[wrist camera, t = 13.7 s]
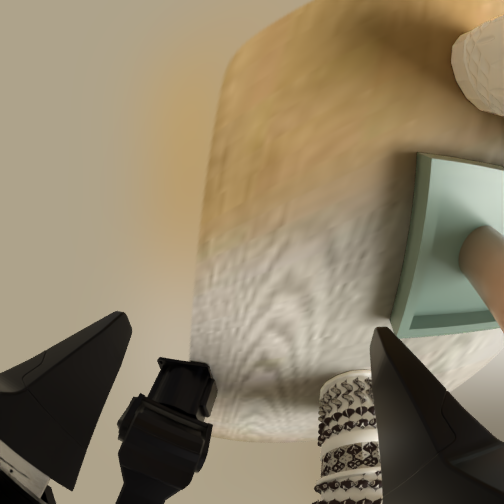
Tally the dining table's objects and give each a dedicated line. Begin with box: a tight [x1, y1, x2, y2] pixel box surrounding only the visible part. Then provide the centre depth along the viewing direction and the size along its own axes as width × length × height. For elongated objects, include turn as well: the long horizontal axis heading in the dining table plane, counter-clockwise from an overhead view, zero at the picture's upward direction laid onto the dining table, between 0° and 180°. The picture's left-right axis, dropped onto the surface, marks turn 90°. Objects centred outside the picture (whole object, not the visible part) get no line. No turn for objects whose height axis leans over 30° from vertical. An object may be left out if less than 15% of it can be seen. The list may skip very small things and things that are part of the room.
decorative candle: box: [312, 370, 383, 504], centre depth 18 cm, size 9×9×25 cm
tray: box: [390, 152, 504, 338], centre depth 18 cm, size 15×15×3 cm
